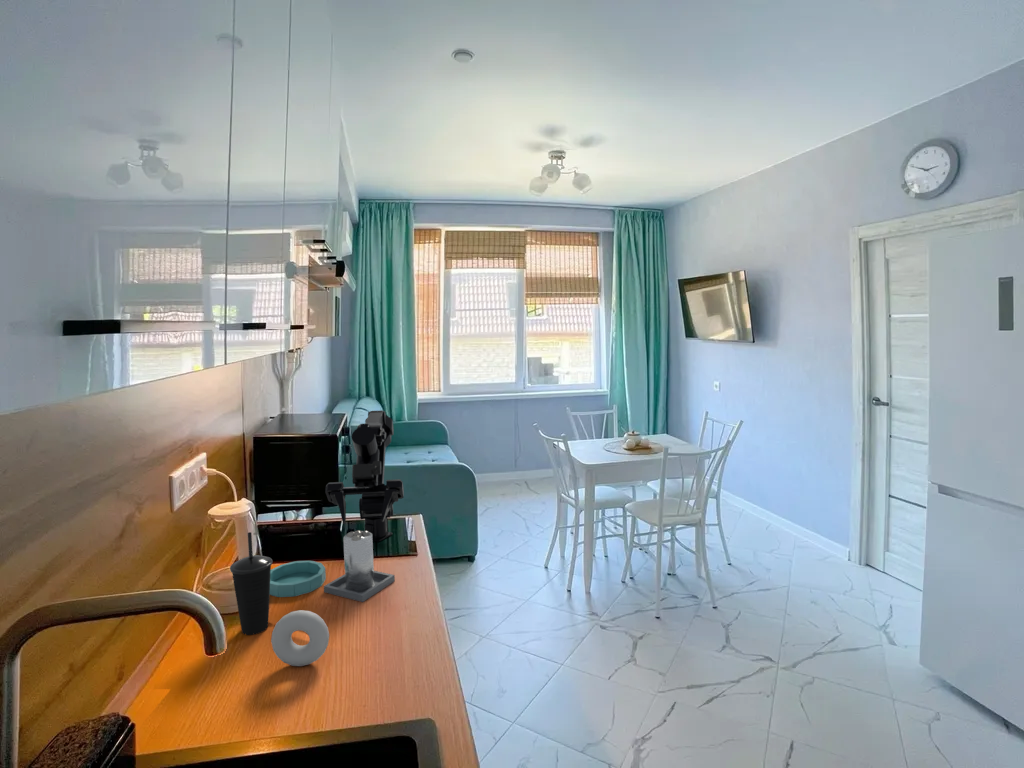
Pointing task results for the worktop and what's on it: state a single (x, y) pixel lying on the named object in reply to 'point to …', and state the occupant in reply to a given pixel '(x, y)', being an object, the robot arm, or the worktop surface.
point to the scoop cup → (358, 561)
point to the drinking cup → (252, 590)
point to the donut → (292, 651)
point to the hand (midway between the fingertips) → (363, 521)
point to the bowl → (296, 578)
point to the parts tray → (340, 590)
